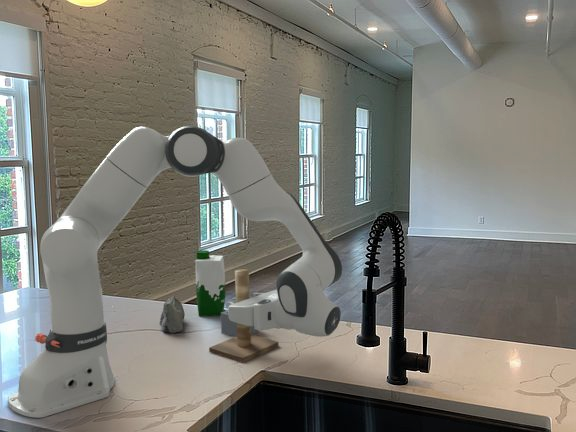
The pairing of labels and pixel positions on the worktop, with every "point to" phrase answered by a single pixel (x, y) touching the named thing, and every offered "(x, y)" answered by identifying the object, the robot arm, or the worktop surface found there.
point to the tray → (243, 348)
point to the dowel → (241, 295)
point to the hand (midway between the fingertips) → (240, 300)
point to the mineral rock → (172, 316)
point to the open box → (230, 325)
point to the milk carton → (210, 284)
